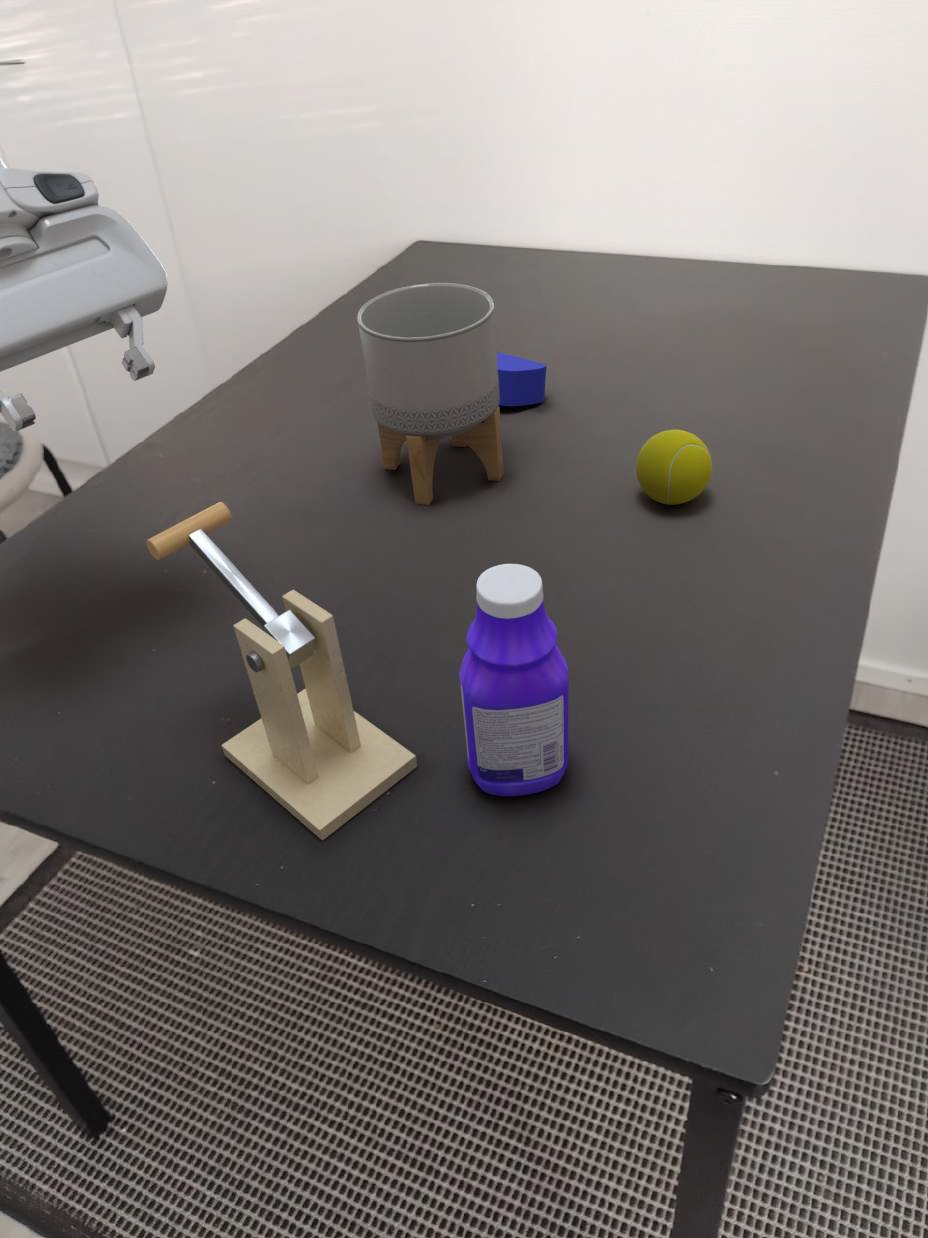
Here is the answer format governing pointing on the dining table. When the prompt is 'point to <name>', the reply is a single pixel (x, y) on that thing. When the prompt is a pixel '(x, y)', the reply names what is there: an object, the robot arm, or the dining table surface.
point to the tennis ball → (673, 467)
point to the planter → (433, 376)
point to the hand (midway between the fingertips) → (87, 398)
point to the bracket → (311, 729)
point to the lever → (234, 579)
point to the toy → (520, 380)
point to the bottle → (514, 687)
